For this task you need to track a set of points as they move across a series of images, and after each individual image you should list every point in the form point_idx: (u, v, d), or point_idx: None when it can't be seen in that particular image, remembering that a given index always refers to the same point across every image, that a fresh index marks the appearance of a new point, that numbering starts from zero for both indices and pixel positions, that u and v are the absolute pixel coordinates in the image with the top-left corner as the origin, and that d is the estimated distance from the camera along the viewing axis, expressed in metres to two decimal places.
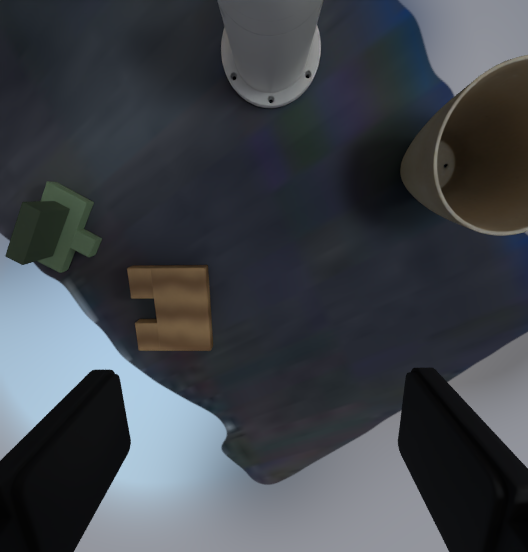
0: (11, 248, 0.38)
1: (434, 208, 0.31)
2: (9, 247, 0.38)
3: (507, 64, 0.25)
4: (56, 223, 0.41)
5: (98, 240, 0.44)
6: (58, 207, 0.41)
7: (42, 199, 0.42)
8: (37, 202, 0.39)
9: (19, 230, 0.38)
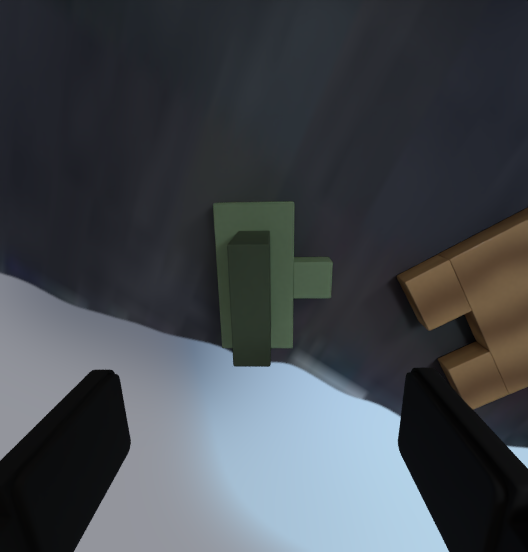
0: (239, 346, 0.19)
1: None
2: (235, 346, 0.19)
3: None
4: None
5: (330, 260, 0.23)
6: (261, 233, 0.21)
7: (217, 240, 0.22)
8: (236, 238, 0.19)
9: (242, 304, 0.18)
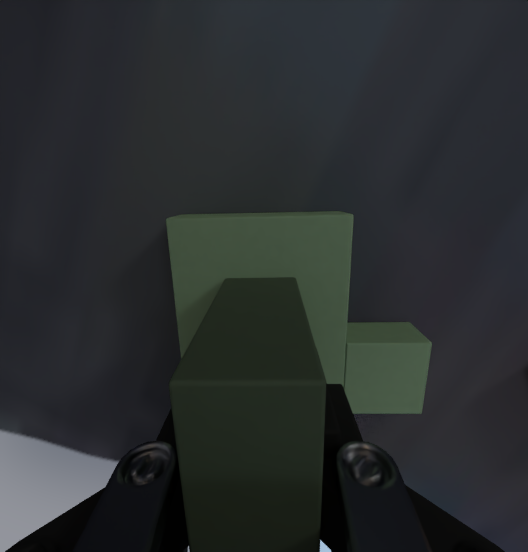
0: None
1: None
2: None
3: None
4: None
5: (420, 335, 0.11)
6: (279, 293, 0.08)
7: (179, 298, 0.10)
8: (213, 323, 0.06)
9: None
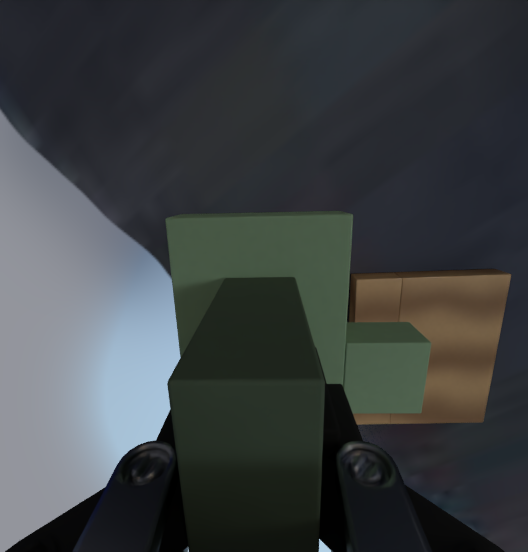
0: None
1: None
2: None
3: None
4: None
5: (420, 334, 0.11)
6: (279, 293, 0.08)
7: (179, 298, 0.10)
8: (212, 322, 0.06)
9: None
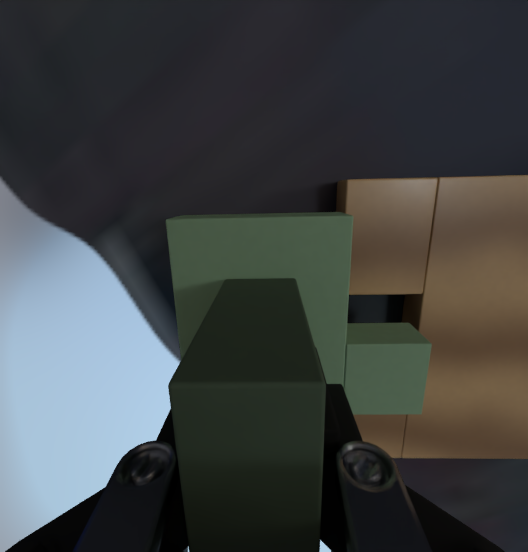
0: None
1: None
2: None
3: None
4: None
5: (420, 336, 0.11)
6: (279, 294, 0.08)
7: (179, 299, 0.10)
8: (213, 324, 0.06)
9: None
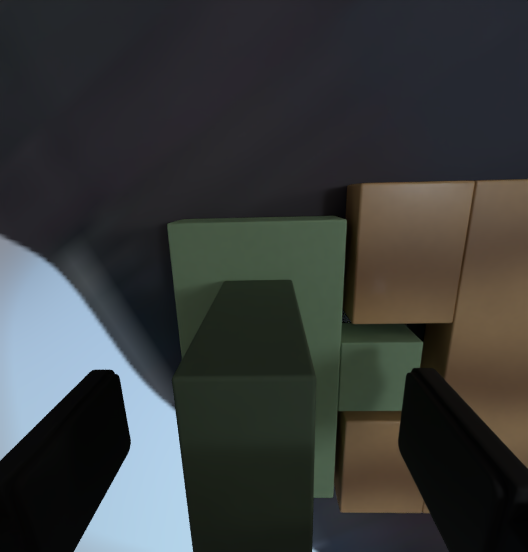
0: None
1: None
2: None
3: None
4: None
5: (412, 334, 0.12)
6: (276, 295, 0.09)
7: (180, 300, 0.11)
8: (213, 323, 0.07)
9: (228, 540, 0.06)
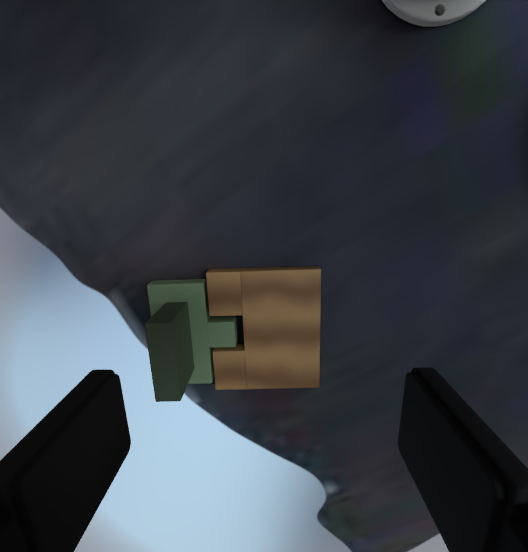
0: (158, 388, 0.28)
1: None
2: (155, 388, 0.28)
3: None
4: (185, 327, 0.30)
5: (235, 320, 0.33)
6: (177, 307, 0.30)
7: (151, 309, 0.32)
8: (156, 314, 0.28)
9: (157, 360, 0.27)
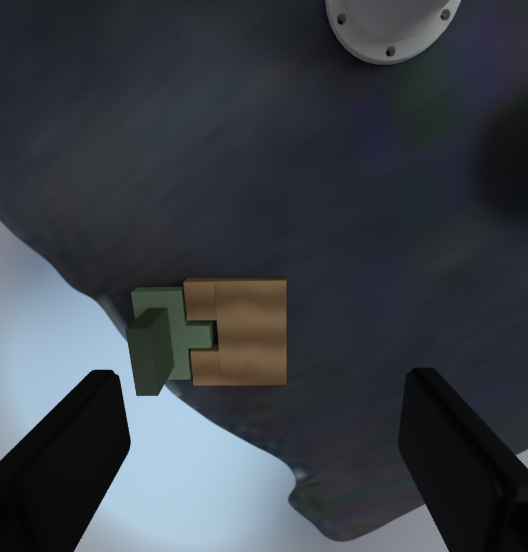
0: (138, 384, 0.31)
1: None
2: (136, 384, 0.31)
3: None
4: (164, 330, 0.34)
5: (210, 323, 0.37)
6: (157, 312, 0.34)
7: (135, 313, 0.35)
8: (137, 320, 0.32)
9: (137, 360, 0.31)
